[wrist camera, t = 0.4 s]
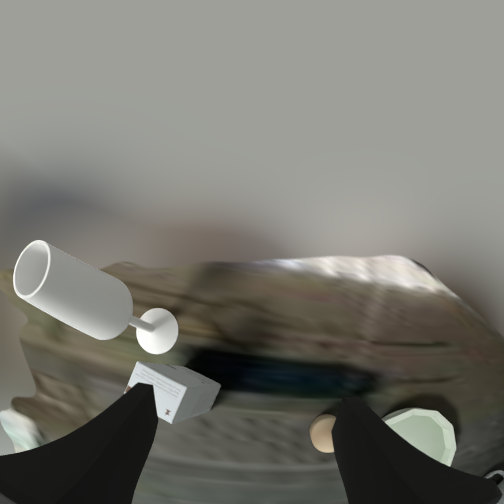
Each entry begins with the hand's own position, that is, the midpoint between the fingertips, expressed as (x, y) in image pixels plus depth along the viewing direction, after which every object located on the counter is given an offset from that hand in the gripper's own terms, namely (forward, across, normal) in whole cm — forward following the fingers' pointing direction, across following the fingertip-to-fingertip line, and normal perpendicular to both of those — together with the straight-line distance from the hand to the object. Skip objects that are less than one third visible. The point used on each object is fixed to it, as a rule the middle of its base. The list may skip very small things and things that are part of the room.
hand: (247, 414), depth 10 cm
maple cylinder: (+17, -11, +19) cm, 28 cm away
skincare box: (+22, +6, +18) cm, 29 cm away
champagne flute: (+27, +12, +13) cm, 33 cm away
